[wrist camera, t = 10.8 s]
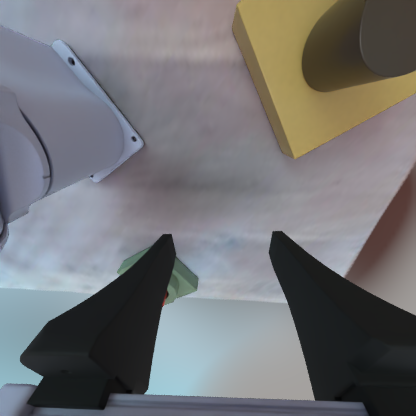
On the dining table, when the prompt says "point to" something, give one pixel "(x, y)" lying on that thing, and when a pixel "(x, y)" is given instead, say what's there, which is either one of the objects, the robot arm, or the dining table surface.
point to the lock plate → (294, 80)
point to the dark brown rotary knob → (360, 44)
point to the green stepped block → (179, 281)
